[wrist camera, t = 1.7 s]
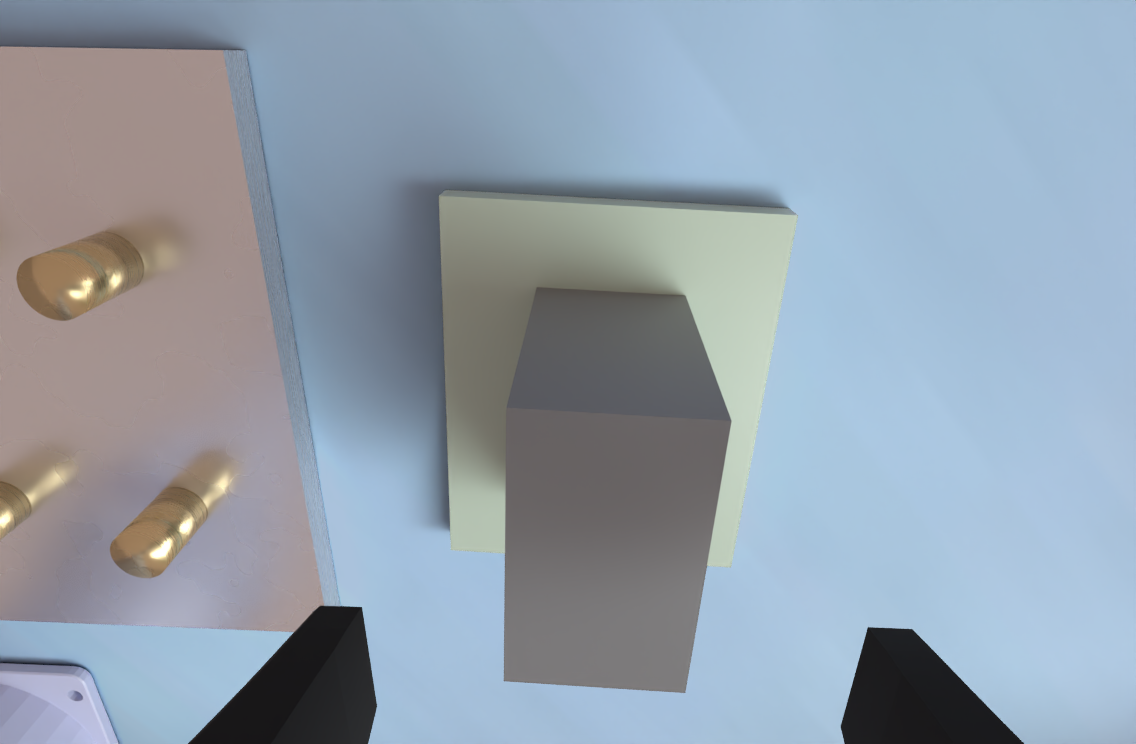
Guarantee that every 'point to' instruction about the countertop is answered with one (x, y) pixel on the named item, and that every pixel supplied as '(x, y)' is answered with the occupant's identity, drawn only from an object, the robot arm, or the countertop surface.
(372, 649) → the countertop surface
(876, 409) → the countertop surface
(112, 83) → the plate
